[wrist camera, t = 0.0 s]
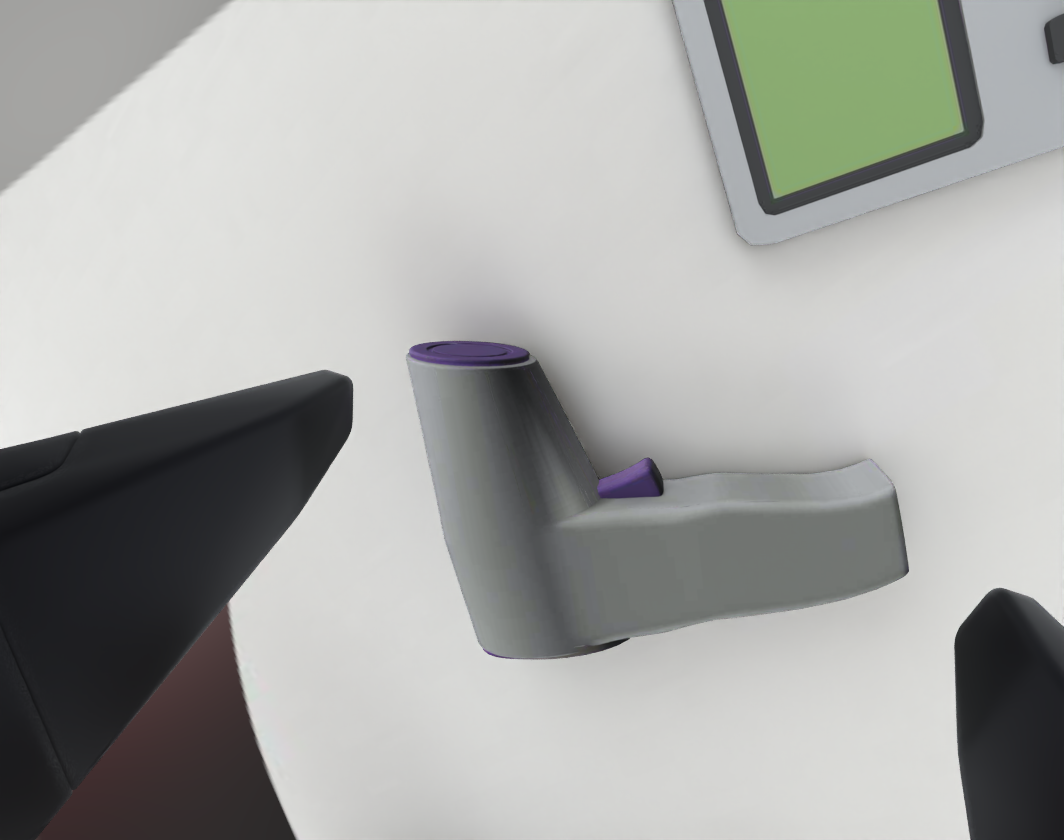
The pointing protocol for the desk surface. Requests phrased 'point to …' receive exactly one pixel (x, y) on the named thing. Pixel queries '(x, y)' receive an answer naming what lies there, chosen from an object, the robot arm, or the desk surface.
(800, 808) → the desk surface
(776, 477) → the infrared thermometer
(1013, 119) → the handheld gaming console
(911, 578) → the desk surface
